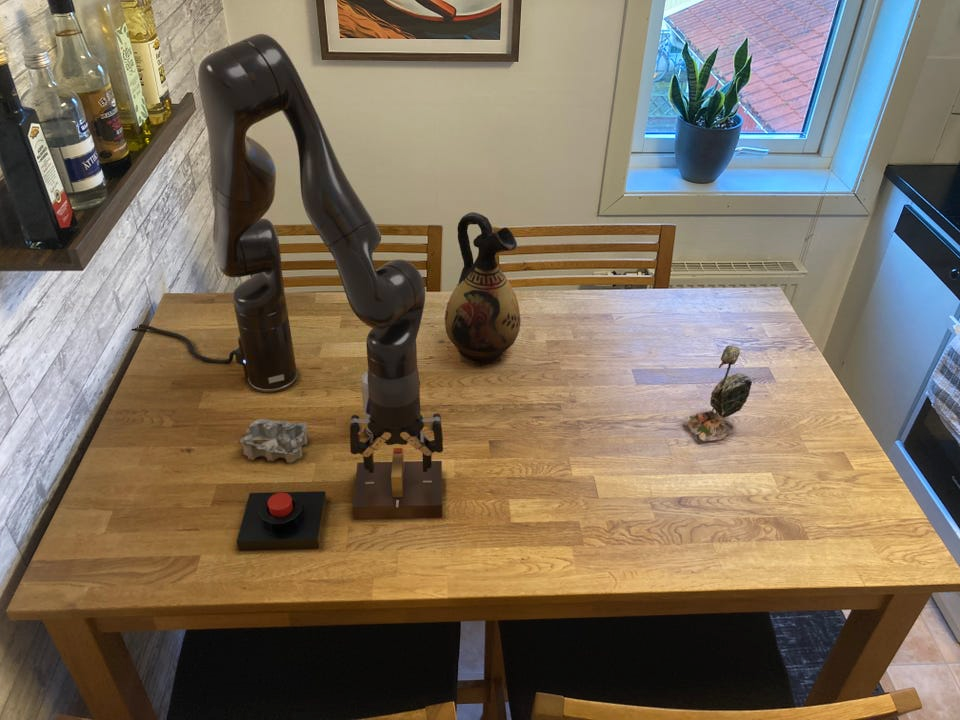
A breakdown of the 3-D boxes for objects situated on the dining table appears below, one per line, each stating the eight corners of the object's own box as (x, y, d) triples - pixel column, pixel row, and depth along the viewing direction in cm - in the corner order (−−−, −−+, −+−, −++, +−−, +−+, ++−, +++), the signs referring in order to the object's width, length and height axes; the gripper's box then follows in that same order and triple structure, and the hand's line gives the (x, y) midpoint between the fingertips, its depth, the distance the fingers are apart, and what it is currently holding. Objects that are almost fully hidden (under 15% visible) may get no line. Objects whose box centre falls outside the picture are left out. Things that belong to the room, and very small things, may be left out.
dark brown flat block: (353, 521, 119) (351, 507, 117) (359, 473, 128) (357, 460, 126) (442, 519, 120) (442, 505, 118) (441, 472, 129) (441, 458, 127)
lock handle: (402, 497, 120) (401, 475, 117) (392, 497, 119) (391, 475, 117) (404, 468, 125) (403, 447, 122) (394, 468, 125) (393, 447, 122)
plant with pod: (752, 437, 137) (779, 347, 125) (694, 446, 135) (717, 355, 123) (730, 409, 144) (754, 321, 132) (675, 417, 141) (695, 328, 130)
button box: (238, 551, 114) (234, 533, 112) (251, 502, 122) (247, 484, 120) (319, 549, 115) (316, 531, 112) (326, 500, 123) (324, 482, 120)
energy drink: (390, 441, 135) (386, 388, 127) (361, 437, 135) (356, 384, 128) (398, 422, 139) (395, 369, 132) (370, 418, 140) (366, 365, 133)
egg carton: (238, 459, 130) (234, 442, 128) (255, 431, 136) (251, 413, 134) (298, 466, 129) (295, 448, 127) (312, 436, 135) (309, 419, 133)
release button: (267, 518, 115) (265, 510, 114) (271, 500, 118) (269, 492, 117) (291, 517, 115) (289, 509, 114) (294, 500, 118) (293, 492, 117)
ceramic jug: (532, 346, 160) (541, 215, 142) (494, 383, 149) (499, 246, 131) (465, 321, 167) (466, 194, 149) (424, 355, 156) (420, 222, 139)
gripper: (342, 406, 108) (351, 486, 117) (442, 404, 109) (443, 484, 118) (347, 374, 114) (355, 453, 123) (442, 373, 115) (442, 451, 124)
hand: (398, 468), depth 121 cm, fingers open, 8 cm apart
